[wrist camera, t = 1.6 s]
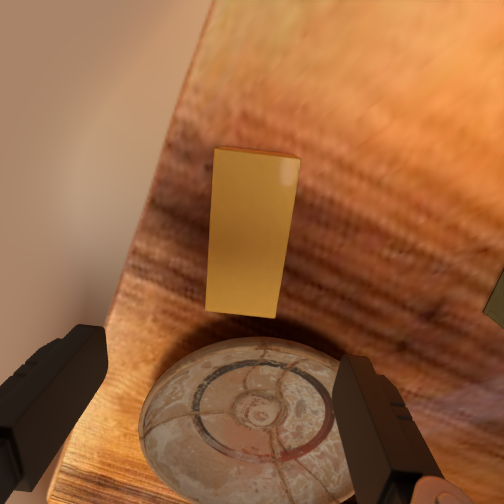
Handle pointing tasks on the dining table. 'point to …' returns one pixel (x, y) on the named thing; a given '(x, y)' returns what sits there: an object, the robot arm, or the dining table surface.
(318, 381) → the ceramic bowl
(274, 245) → the block
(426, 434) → the dining table surface
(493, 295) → the tray
